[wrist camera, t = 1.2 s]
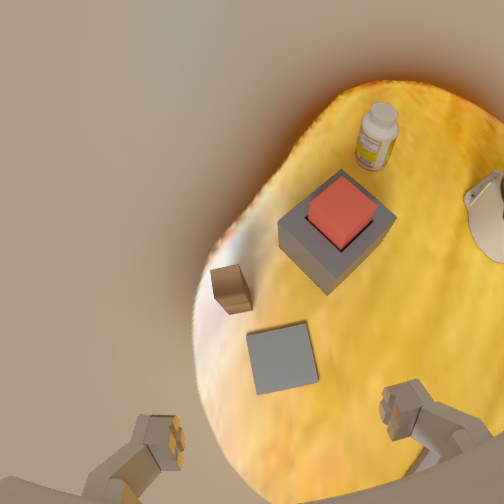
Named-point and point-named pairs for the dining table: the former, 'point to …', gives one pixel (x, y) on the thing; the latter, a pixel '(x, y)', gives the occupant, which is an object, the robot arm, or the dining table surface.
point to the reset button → (341, 212)
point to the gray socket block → (321, 250)
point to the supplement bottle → (377, 136)
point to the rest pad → (281, 359)
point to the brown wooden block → (231, 289)
